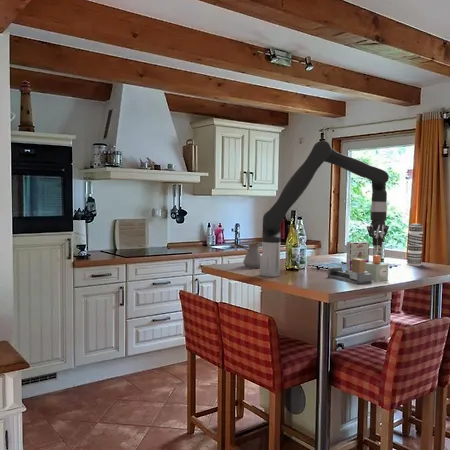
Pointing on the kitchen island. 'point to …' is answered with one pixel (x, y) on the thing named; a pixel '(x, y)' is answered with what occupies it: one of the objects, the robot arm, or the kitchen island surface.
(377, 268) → the gauge cabinet
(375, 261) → the button
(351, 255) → the candy bar box
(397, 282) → the kitchen island surface
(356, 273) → the carriage
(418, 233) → the decorative candle
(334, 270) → the rail
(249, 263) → the coffee pot
